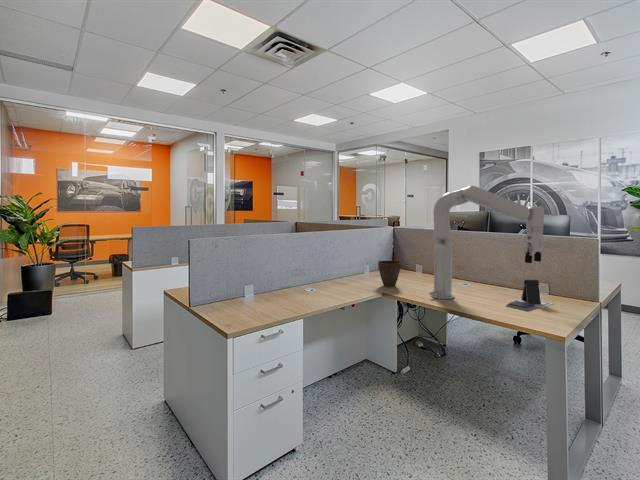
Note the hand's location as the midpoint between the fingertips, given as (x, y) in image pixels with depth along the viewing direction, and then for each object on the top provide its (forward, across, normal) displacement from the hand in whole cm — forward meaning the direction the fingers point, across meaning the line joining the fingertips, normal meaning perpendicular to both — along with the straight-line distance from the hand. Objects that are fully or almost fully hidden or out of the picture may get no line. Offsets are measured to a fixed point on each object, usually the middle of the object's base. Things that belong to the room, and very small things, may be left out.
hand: (532, 261), depth 176 cm
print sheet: (+22, 0, 0) cm, 22 cm away
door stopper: (+22, 0, 0) cm, 22 cm away
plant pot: (+23, -33, +73) cm, 83 cm away
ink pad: (+22, -12, -1) cm, 25 cm away
